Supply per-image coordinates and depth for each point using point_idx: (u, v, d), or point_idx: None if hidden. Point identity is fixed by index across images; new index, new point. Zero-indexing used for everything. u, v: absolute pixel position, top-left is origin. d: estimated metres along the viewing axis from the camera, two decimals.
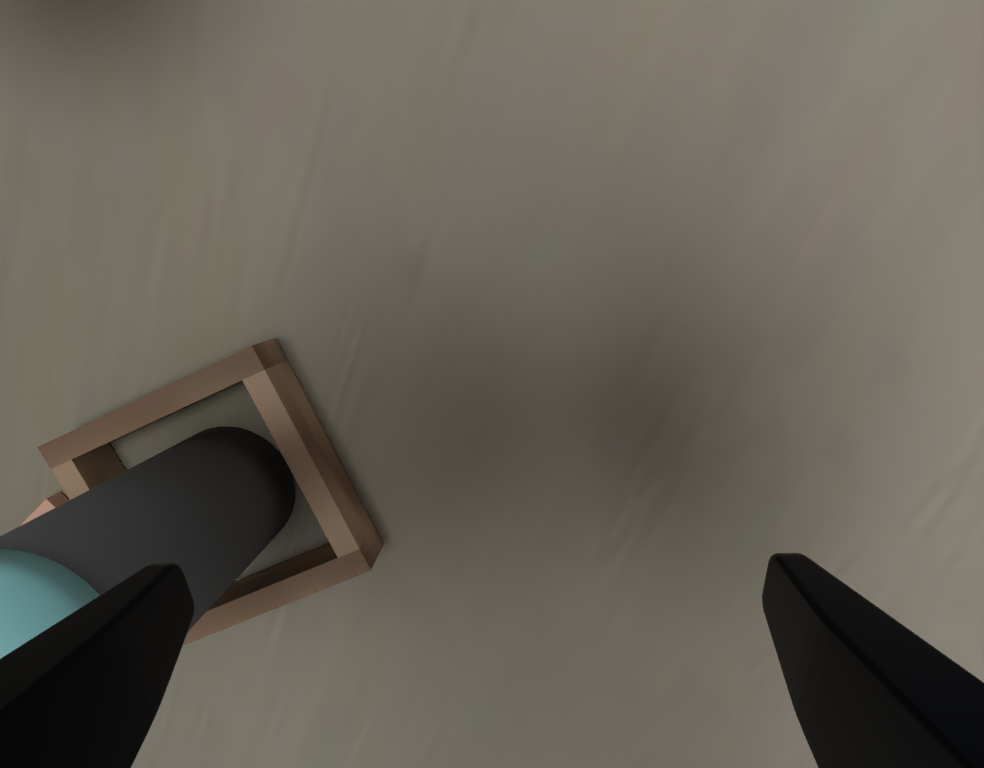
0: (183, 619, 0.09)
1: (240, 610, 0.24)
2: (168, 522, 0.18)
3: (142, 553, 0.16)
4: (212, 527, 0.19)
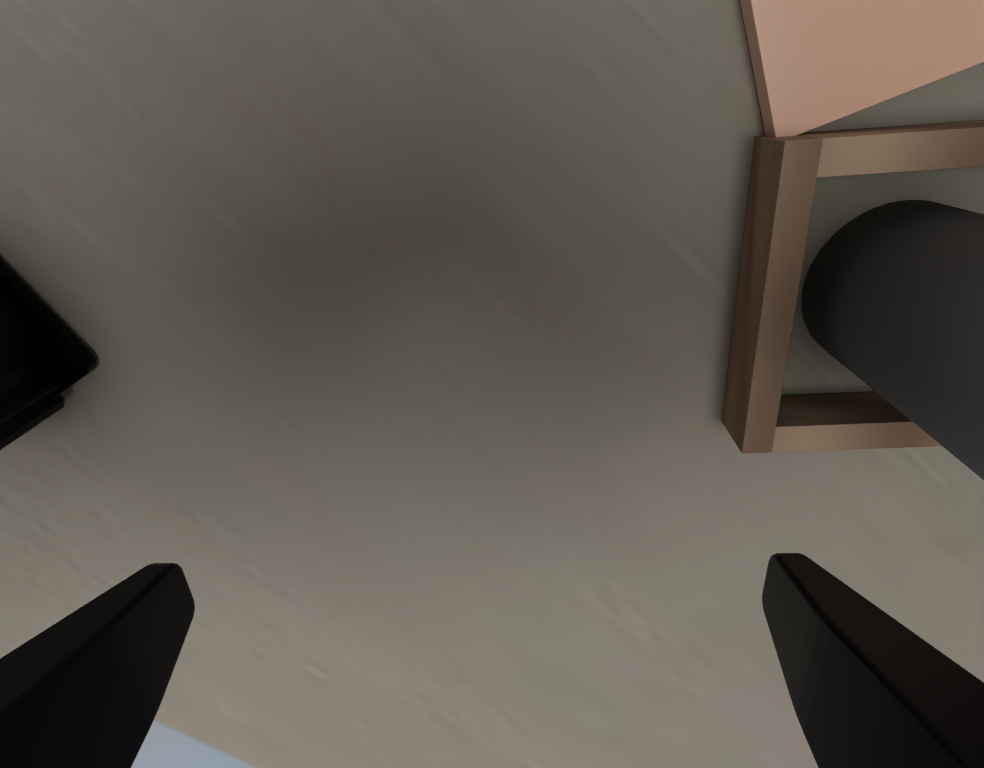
0: (183, 619, 0.09)
1: (781, 286, 0.18)
2: None
3: None
4: None
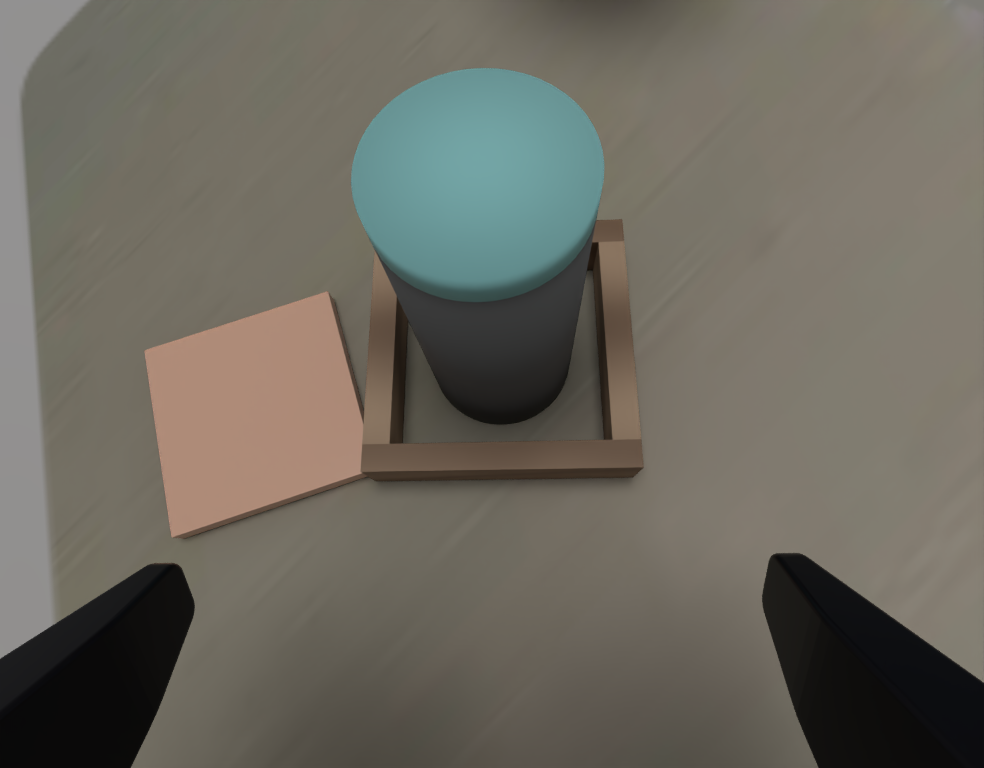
0: (183, 619, 0.09)
1: (474, 456, 0.21)
2: None
3: None
4: None
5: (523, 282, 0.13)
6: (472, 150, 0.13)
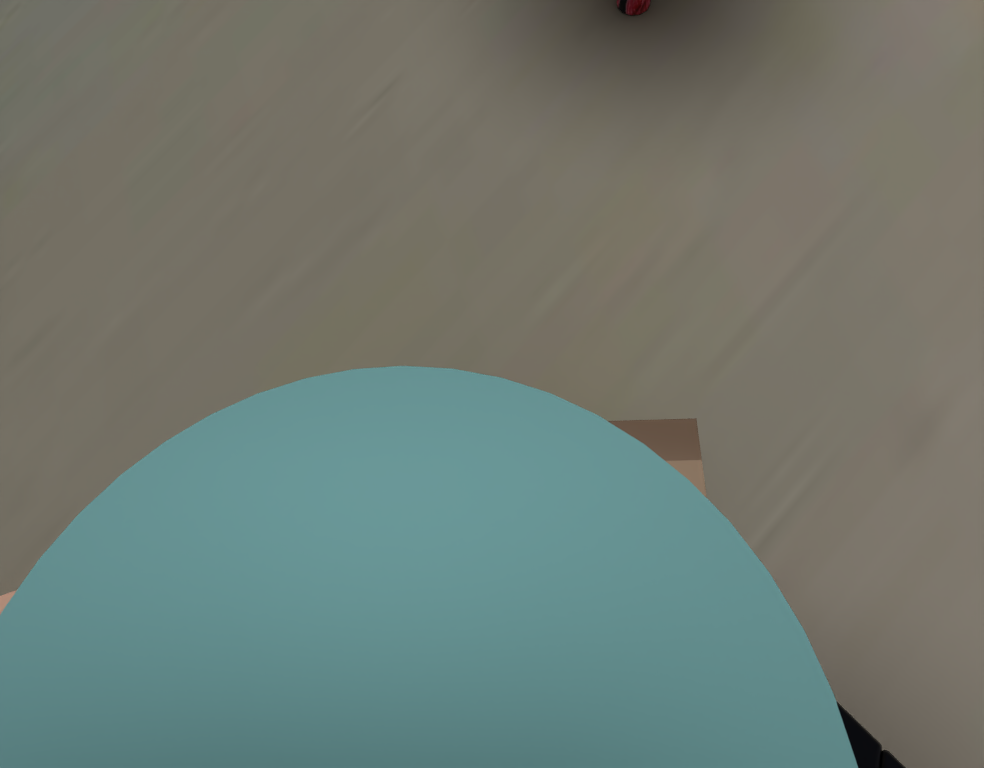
0: None
1: None
2: None
3: None
4: None
5: None
6: (360, 729, 0.04)
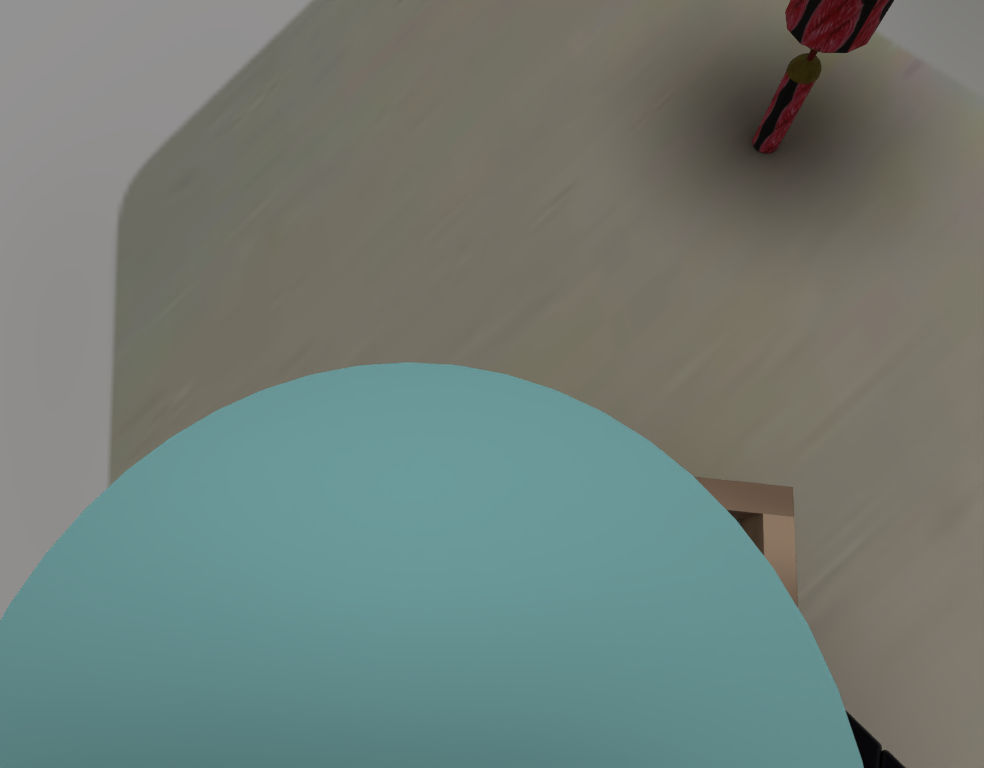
0: None
1: None
2: None
3: None
4: None
5: None
6: (365, 723, 0.04)
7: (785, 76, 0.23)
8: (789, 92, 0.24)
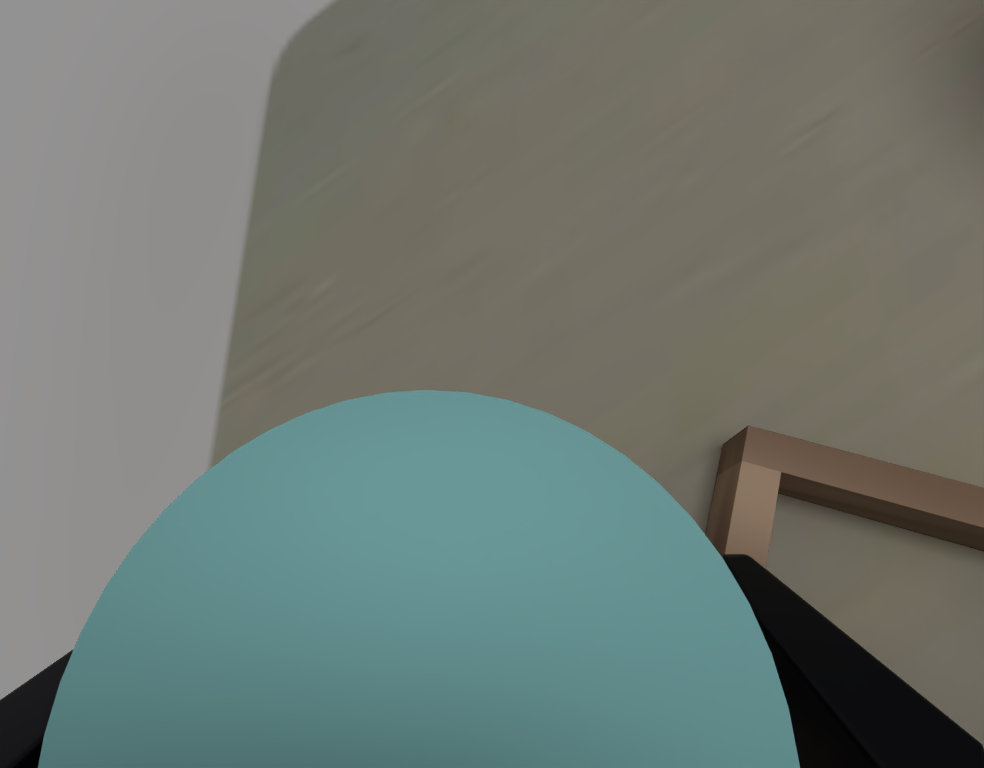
0: None
1: None
2: None
3: None
4: None
5: None
6: (395, 681, 0.04)
7: None
8: None
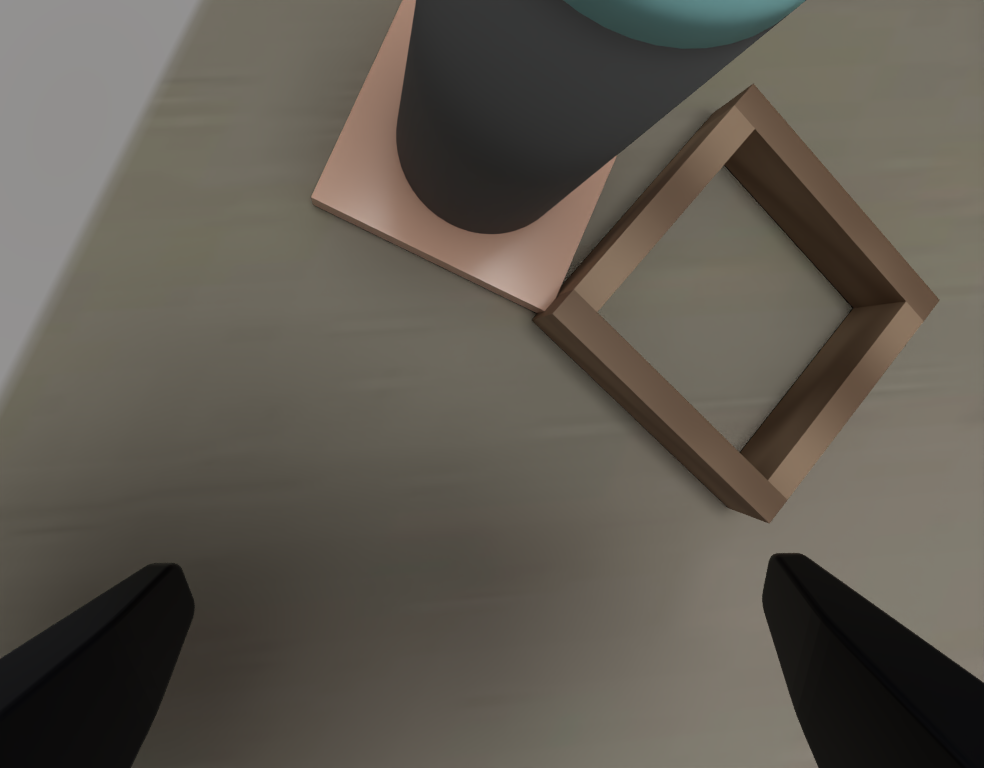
0: (183, 619, 0.09)
1: (655, 392, 0.18)
2: None
3: None
4: None
5: (676, 22, 0.07)
6: None
7: None
8: None
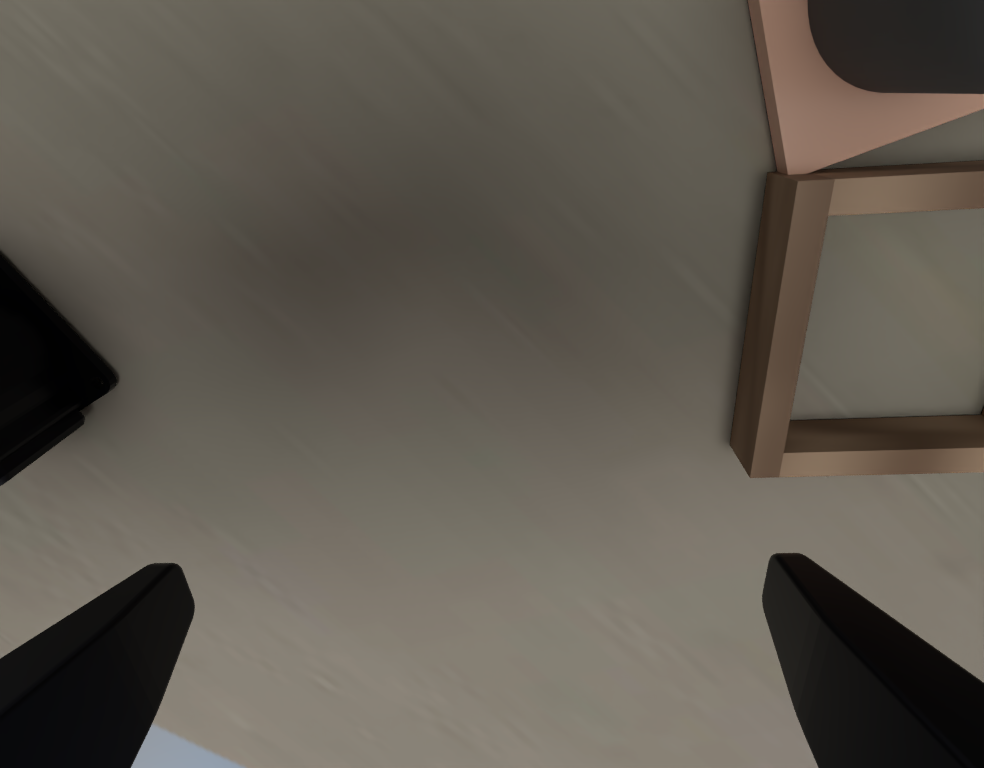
0: (183, 619, 0.09)
1: (791, 319, 0.18)
2: None
3: None
4: None
5: None
6: None
7: None
8: None
